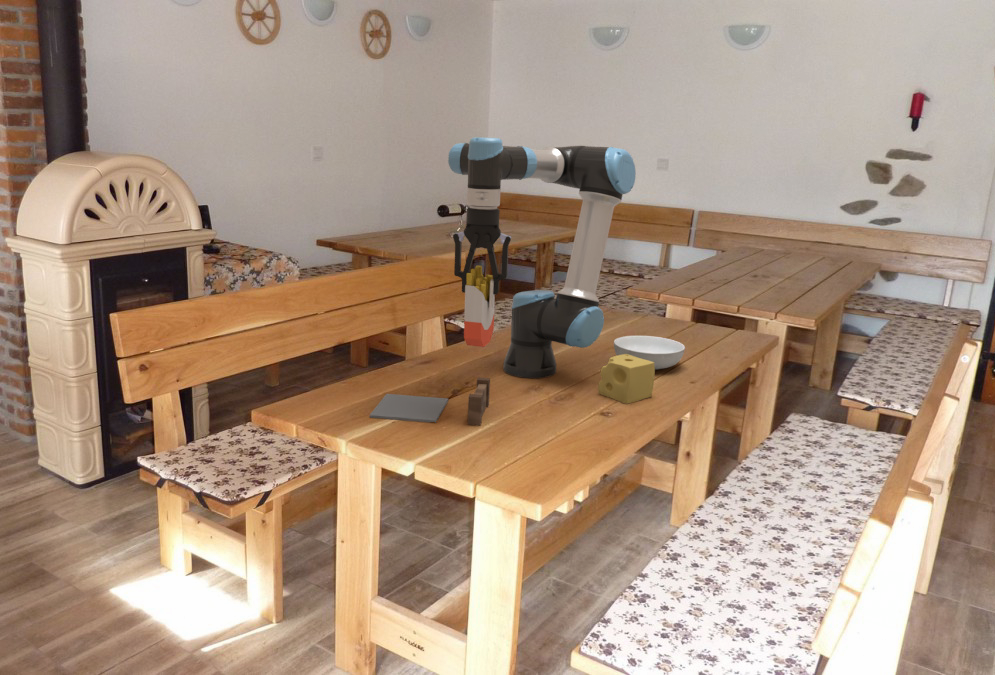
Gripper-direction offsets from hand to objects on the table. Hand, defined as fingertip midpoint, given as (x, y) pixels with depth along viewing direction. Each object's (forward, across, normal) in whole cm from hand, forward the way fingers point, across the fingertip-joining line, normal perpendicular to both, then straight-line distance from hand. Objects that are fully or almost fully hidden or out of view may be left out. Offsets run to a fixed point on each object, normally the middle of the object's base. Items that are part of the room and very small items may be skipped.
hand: (479, 306), depth 195 cm
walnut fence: (+27, +1, 0) cm, 27 cm away
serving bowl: (+27, +46, +52) cm, 74 cm away
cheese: (+27, +38, +22) cm, 51 cm away
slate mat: (+27, -16, +1) cm, 31 cm away
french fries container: (+9, 0, 0) cm, 9 cm away
